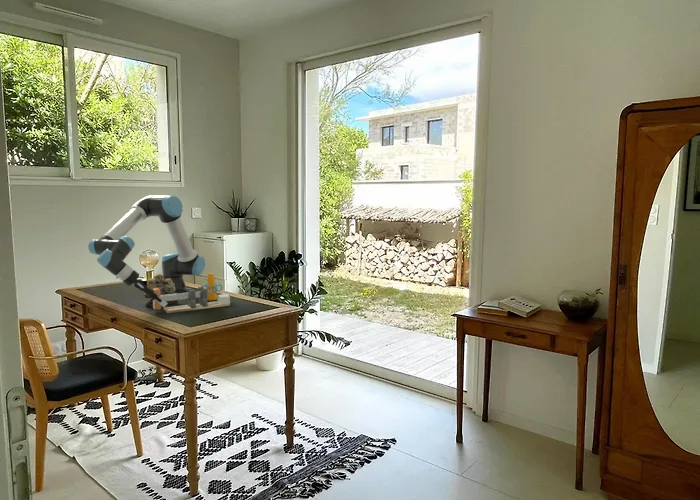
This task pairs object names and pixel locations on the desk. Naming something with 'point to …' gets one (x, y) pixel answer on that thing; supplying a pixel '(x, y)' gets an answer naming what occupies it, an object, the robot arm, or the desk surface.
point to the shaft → (172, 297)
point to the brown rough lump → (161, 289)
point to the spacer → (223, 299)
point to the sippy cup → (211, 287)
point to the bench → (186, 308)
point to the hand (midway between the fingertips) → (164, 304)
